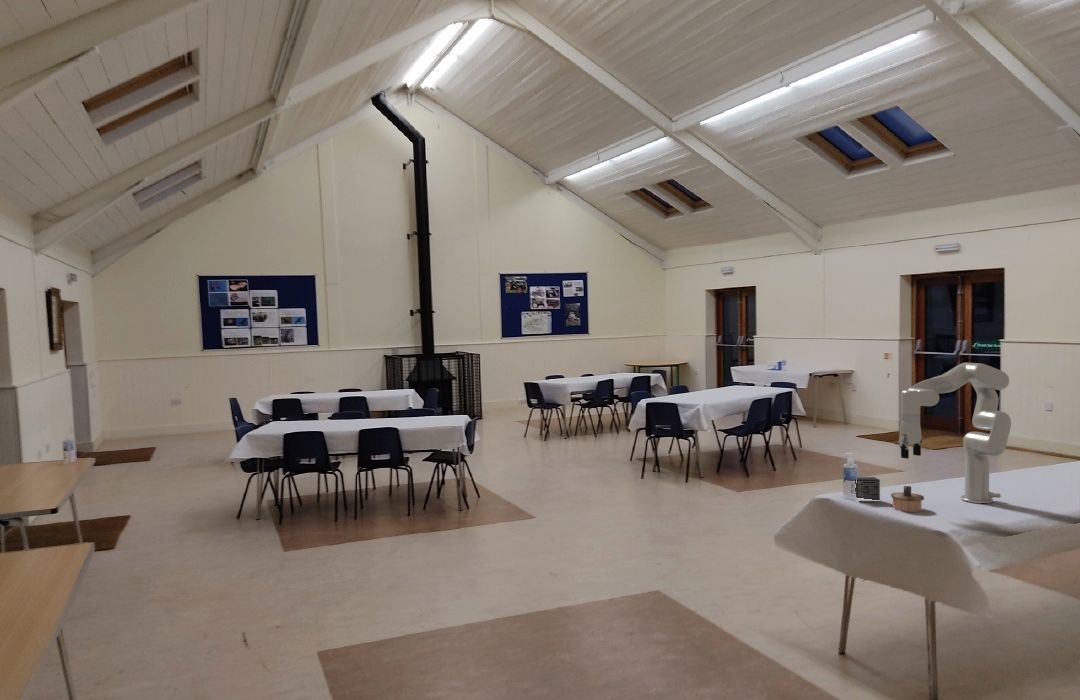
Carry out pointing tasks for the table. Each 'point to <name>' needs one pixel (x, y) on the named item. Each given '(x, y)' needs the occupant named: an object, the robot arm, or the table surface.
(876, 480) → the small box
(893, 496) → the lid
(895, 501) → the bowl
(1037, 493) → the table surface
